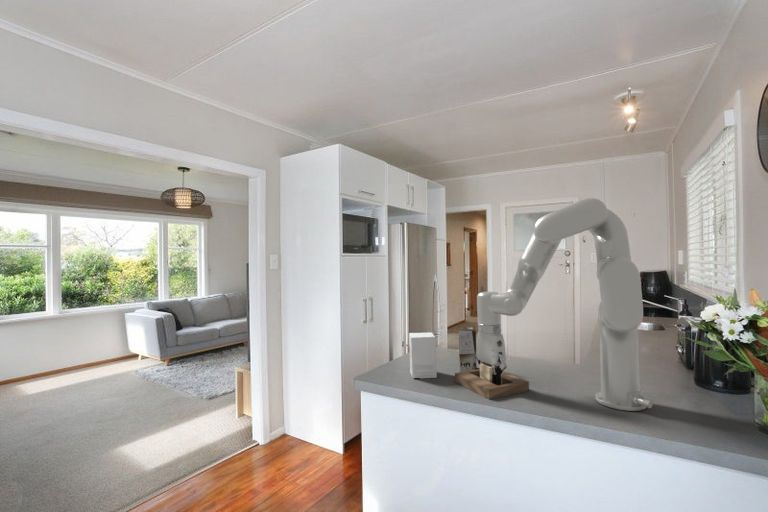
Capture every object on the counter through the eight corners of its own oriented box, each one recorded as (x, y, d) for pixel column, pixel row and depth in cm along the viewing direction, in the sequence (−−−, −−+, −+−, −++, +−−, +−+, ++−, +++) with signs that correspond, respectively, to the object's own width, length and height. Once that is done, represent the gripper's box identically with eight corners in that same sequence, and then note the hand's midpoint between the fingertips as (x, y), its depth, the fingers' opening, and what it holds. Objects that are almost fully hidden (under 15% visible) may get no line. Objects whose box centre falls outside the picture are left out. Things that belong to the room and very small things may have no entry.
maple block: (502, 387, 123) (501, 365, 124) (489, 389, 121) (489, 367, 122) (492, 382, 128) (491, 362, 128) (480, 384, 126) (479, 364, 126)
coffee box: (477, 374, 138) (476, 330, 138) (459, 373, 139) (458, 330, 139) (476, 367, 147) (475, 326, 147) (459, 366, 148) (458, 325, 148)
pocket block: (529, 390, 120) (528, 381, 120) (488, 399, 113) (488, 389, 113) (491, 375, 136) (491, 367, 136) (454, 381, 130) (454, 373, 130)
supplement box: (433, 370, 143) (432, 331, 143) (437, 378, 134) (436, 336, 134) (409, 371, 143) (408, 332, 143) (411, 379, 134) (411, 337, 134)
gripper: (516, 332, 119) (518, 389, 118) (482, 324, 134) (483, 374, 134) (497, 334, 116) (499, 393, 115) (464, 326, 131) (466, 378, 131)
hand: (490, 382), depth 125 cm, fingers closed on maple block, 5 cm apart
